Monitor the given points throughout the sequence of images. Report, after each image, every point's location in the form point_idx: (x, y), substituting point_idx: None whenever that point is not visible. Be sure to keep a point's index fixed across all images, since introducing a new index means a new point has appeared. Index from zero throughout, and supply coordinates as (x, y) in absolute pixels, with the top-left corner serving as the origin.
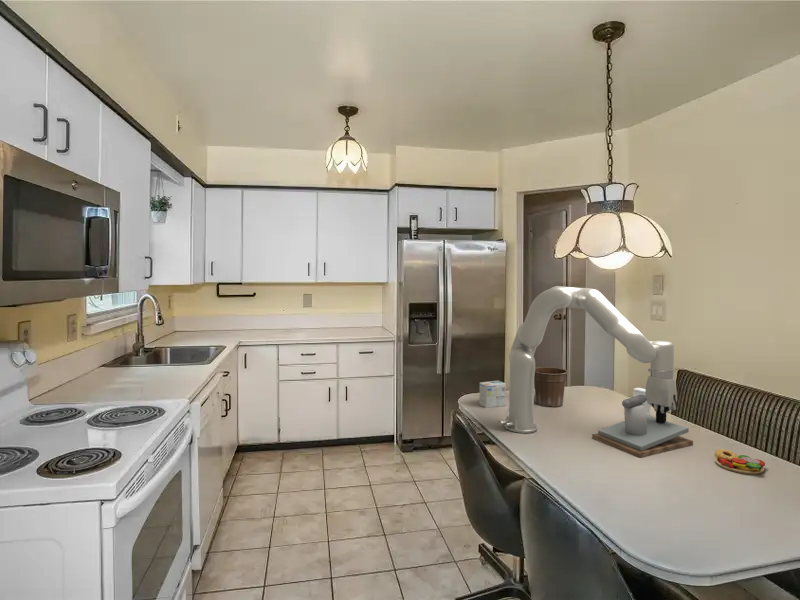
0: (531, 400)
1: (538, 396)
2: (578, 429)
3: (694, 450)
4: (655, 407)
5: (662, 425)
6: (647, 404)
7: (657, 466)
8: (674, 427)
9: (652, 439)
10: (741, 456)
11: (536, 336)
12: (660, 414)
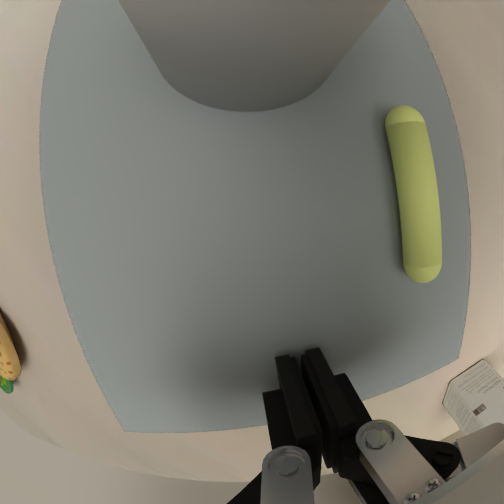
0: None
1: None
2: (456, 15)
3: None
4: (395, 458)
5: (239, 345)
6: (473, 427)
7: (9, 31)
8: (159, 384)
9: (67, 62)
10: (5, 381)
11: None
12: (294, 424)
